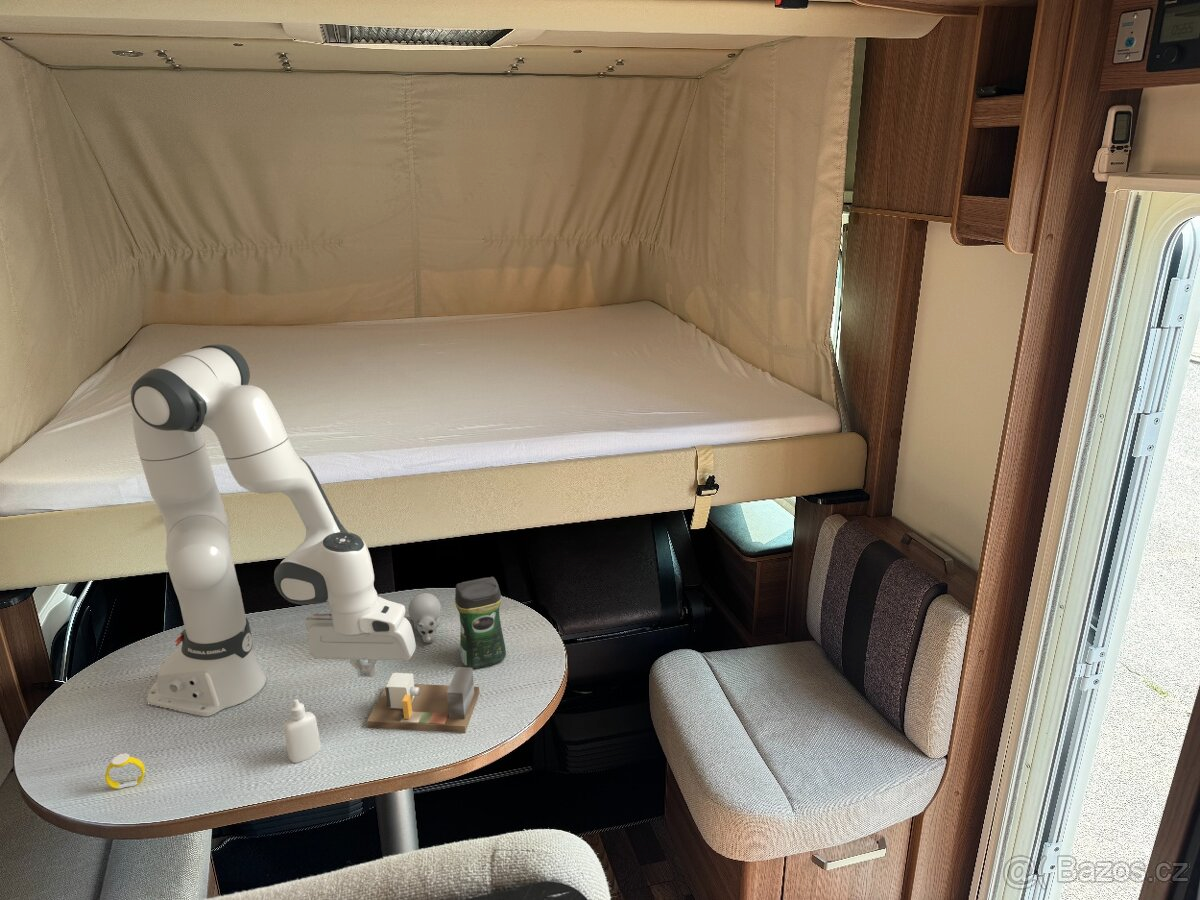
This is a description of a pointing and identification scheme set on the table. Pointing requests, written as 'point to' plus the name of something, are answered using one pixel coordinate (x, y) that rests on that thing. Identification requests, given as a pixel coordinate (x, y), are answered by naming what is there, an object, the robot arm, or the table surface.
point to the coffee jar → (480, 622)
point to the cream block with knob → (400, 690)
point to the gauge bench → (432, 707)
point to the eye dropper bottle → (301, 734)
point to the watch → (122, 761)
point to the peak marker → (407, 706)
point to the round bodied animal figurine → (425, 615)
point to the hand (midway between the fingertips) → (367, 674)
